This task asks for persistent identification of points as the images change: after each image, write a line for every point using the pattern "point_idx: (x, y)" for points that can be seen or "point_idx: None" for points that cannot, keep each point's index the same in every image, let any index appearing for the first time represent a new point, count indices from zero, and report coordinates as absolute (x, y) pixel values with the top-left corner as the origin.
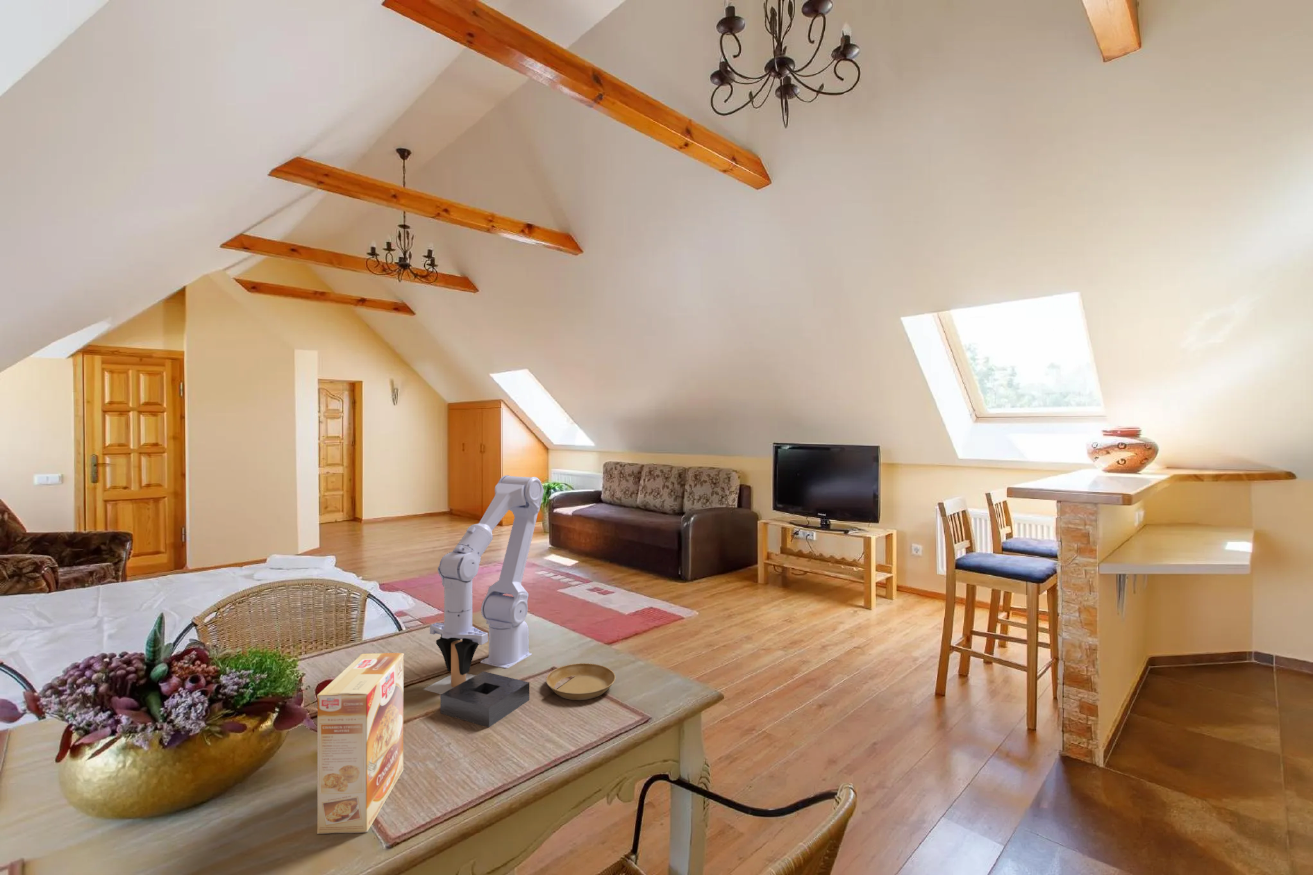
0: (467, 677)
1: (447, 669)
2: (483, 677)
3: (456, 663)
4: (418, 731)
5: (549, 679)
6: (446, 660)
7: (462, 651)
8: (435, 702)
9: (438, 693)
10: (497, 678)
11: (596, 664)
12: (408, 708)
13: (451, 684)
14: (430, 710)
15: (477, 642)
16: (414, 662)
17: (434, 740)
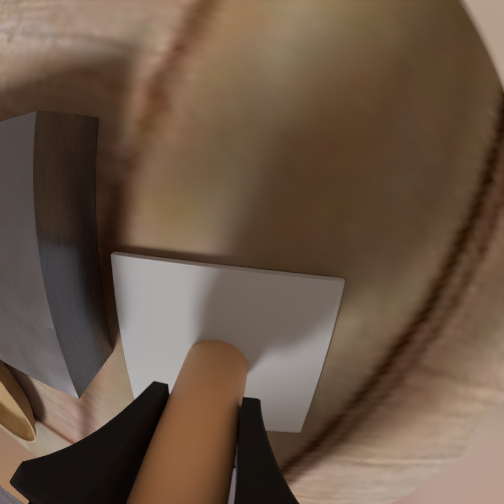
0: None
1: (254, 403)
2: (33, 348)
3: (169, 427)
4: (106, 4)
5: (12, 391)
6: (248, 443)
7: (45, 460)
8: (197, 200)
9: (237, 270)
10: (4, 346)
11: (14, 434)
12: (281, 99)
13: (230, 349)
14: (163, 126)
15: (4, 489)
16: (467, 411)
17: (42, 16)
